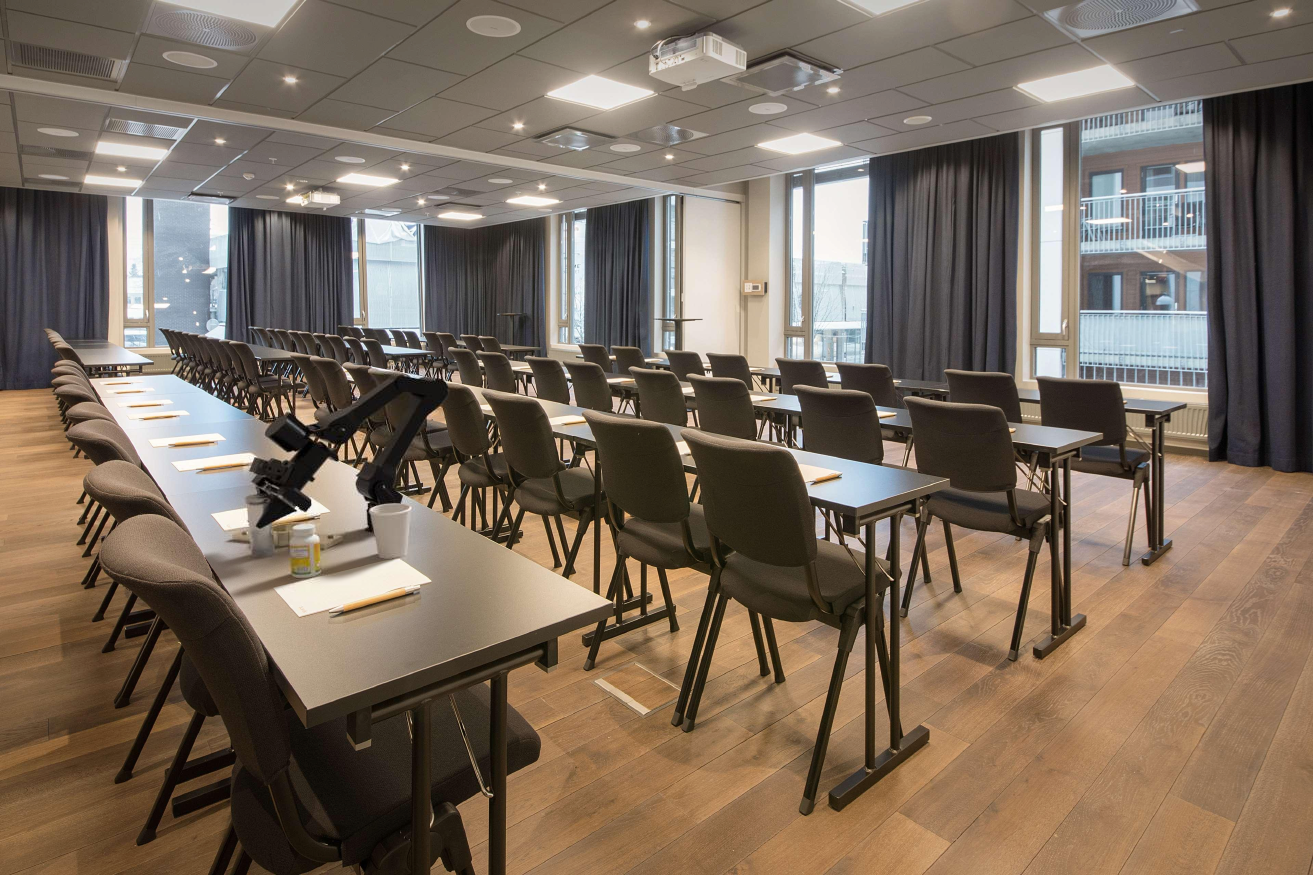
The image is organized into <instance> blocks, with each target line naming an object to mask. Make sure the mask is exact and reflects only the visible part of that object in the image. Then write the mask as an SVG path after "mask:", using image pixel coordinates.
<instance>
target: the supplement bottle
mask: <svg viewBox="0 0 1313 875" xmlns="http://www.w3.org/2000/svg"><path fill="white" fill-rule="evenodd" d="M292 533H293V535H294V537H292V538H291V539H290V542H289V556H290V570H291V572H290V573H291V576H292V577H293V578H297V579H308V578H313V577H316V576H318V575H320V574H321V573H322V559H321V549H320V539H319V537H318V536H317V535H315V534H314V533H316V525H315V524H314V523H305V524H299V525H296V526H294V527H292Z"/></svg>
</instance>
